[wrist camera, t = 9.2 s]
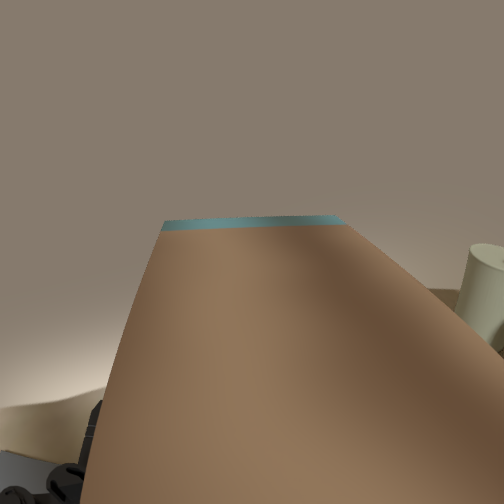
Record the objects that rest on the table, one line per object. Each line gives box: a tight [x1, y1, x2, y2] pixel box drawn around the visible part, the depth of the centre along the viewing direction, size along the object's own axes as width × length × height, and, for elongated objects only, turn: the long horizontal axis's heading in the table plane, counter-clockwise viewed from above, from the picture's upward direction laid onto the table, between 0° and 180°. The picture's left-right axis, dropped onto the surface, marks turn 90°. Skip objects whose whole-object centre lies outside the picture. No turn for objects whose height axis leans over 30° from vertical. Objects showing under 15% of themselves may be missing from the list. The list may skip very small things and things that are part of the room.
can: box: [454, 244, 504, 353], centre depth 32 cm, size 9×9×12 cm
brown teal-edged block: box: [80, 215, 504, 504], centre depth 10 cm, size 8×14×10 cm, turn 8°
